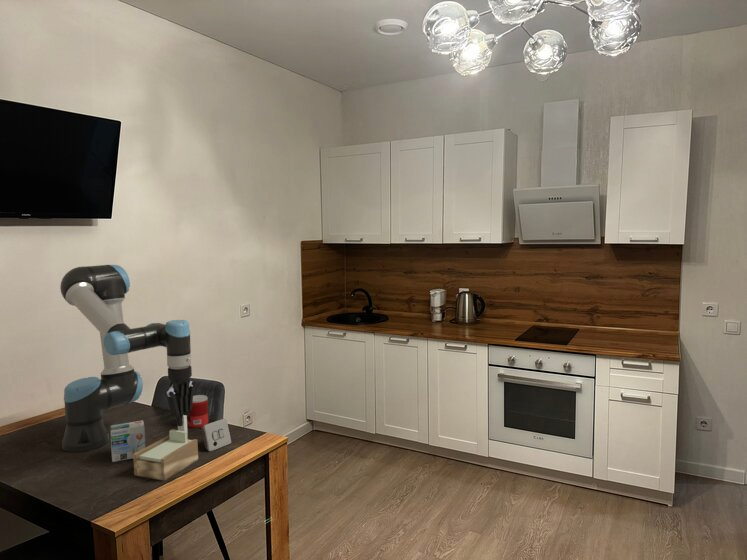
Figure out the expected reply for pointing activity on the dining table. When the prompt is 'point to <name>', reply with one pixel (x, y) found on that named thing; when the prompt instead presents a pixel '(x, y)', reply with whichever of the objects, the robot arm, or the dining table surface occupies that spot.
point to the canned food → (198, 412)
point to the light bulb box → (127, 440)
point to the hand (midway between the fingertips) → (182, 433)
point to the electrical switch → (216, 434)
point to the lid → (166, 446)
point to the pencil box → (165, 461)
